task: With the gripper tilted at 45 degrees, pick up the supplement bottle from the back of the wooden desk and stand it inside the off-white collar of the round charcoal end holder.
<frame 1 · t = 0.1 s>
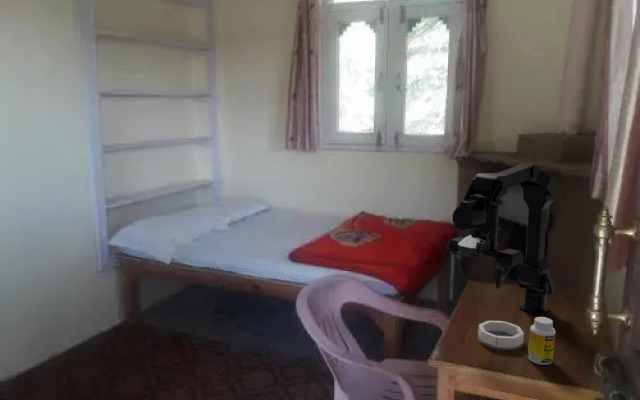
hand: (481, 283, 136), 15 cm above the table, tool pointing down, fingers open, 9 cm apart
supplement bottle: (540, 361, 127), on the table
end holder: (500, 340, 137), on the table
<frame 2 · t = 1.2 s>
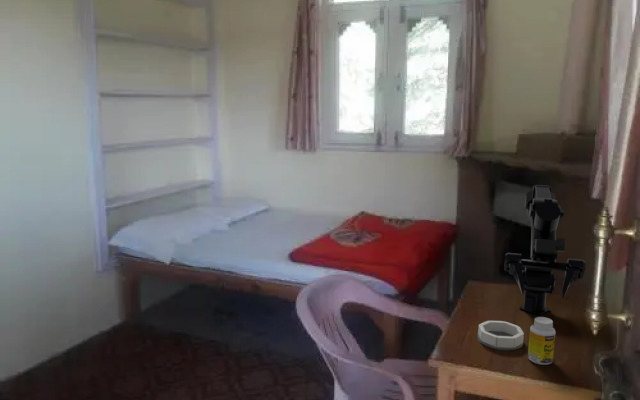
hand: (542, 296, 131), 13 cm above the table, tool tilted 45°, fingers open, 9 cm apart
nothing on the table moved.
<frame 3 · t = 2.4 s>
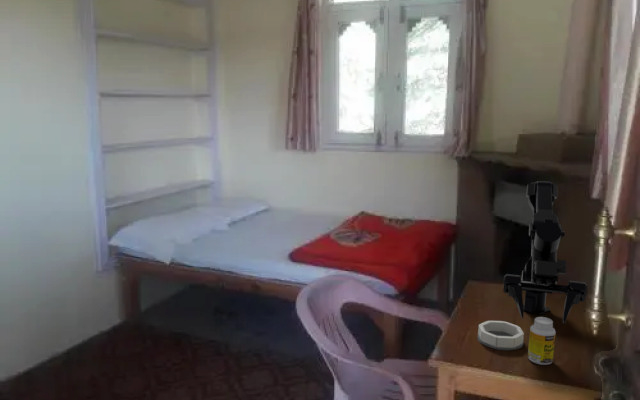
hand: (543, 319, 126), 10 cm above the table, tool tilted 45°, fingers open, 9 cm apart
nothing on the table moved.
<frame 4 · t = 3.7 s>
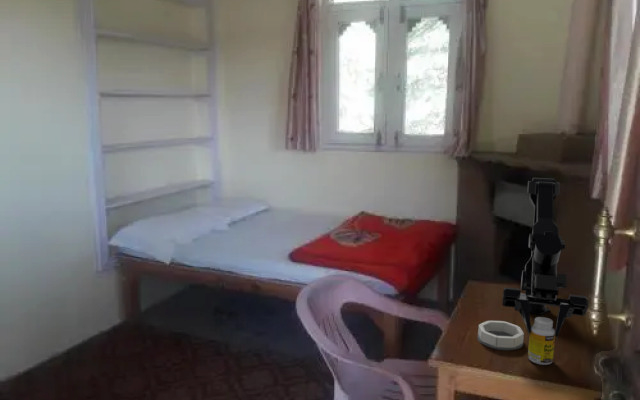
hand: (542, 334, 124), 7 cm above the table, tool tilted 45°, fingers closed on supplement bottle, 5 cm apart
supplement bottle: (540, 361, 127), on the table, touching gripper
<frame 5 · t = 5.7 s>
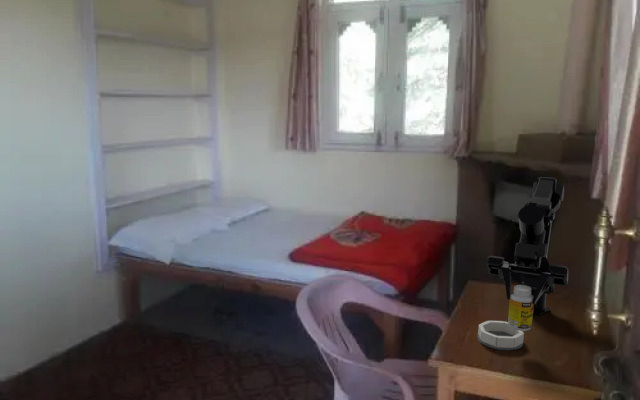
hand: (520, 301, 128), 13 cm above the table, tool tilted 45°, fingers closed on supplement bottle, 5 cm apart
supplement bottle: (519, 327, 131), point 6 cm above the table, touching gripper
when the fingers open (9 cm above the table, at t = 7.7 s): supplement bottle stays where it is, resting on end holder.
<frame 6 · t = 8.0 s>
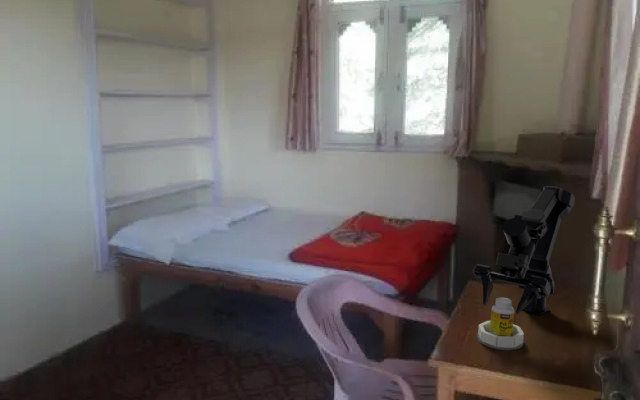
hand: (500, 308, 134), 9 cm above the table, tool tilted 45°, fingers open, 8 cm apart
supplement bottle: (500, 338, 137), resting on end holder
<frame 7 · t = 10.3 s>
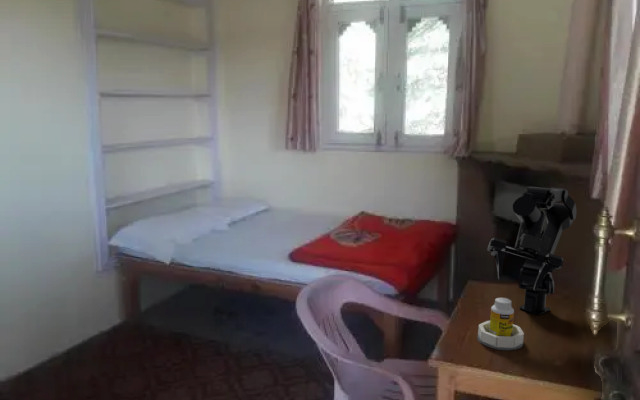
hand: (516, 284, 141), 13 cm above the table, tool tilted 30°, fingers open, 9 cm apart
nothing on the table moved.
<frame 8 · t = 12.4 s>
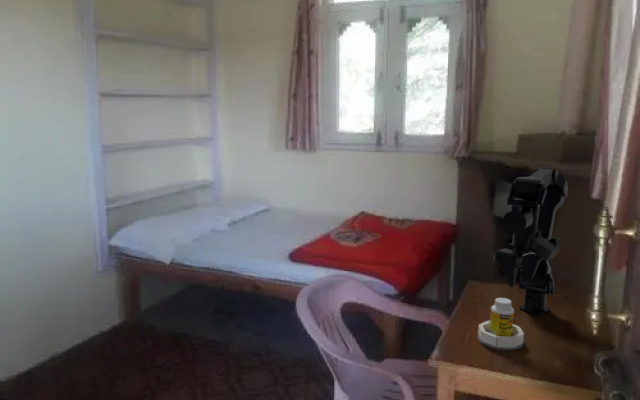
hand: (521, 283, 141), 13 cm above the table, tool pointing down, fingers open, 9 cm apart
nothing on the table moved.
at the end: supplement bottle 0.2 cm off-centre on the end holder, point 0.4 cm above the end holder's base; supplement bottle tilted 0°; the gripper is holding nothing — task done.
